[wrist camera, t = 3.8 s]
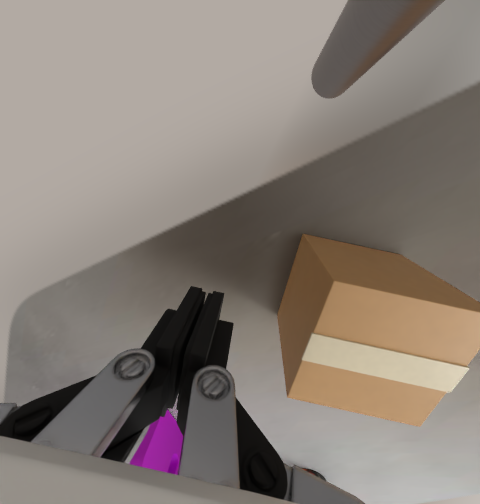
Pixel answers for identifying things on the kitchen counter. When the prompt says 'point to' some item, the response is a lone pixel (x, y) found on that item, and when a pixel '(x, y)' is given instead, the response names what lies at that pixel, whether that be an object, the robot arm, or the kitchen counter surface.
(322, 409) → the kitchen counter surface
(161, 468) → the magenta ring bracket
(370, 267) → the box
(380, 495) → the kitchen counter surface
